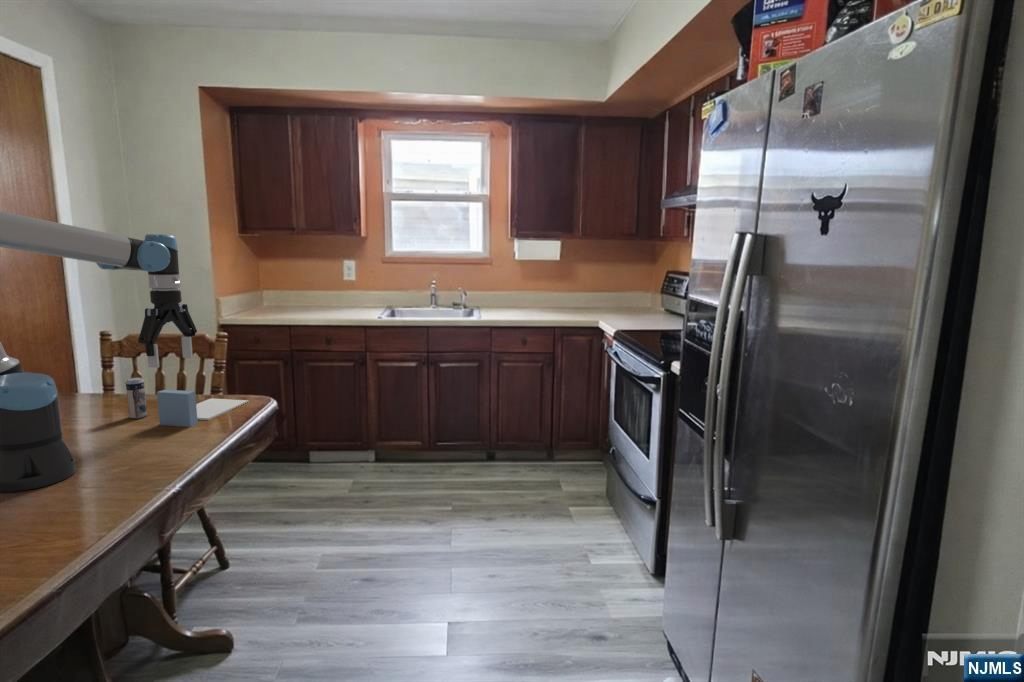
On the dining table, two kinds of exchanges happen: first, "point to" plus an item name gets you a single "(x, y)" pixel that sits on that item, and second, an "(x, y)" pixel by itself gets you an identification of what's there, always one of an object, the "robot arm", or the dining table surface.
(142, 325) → the robot arm
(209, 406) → the mat
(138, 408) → the beer can
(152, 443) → the dining table surface
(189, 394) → the block
